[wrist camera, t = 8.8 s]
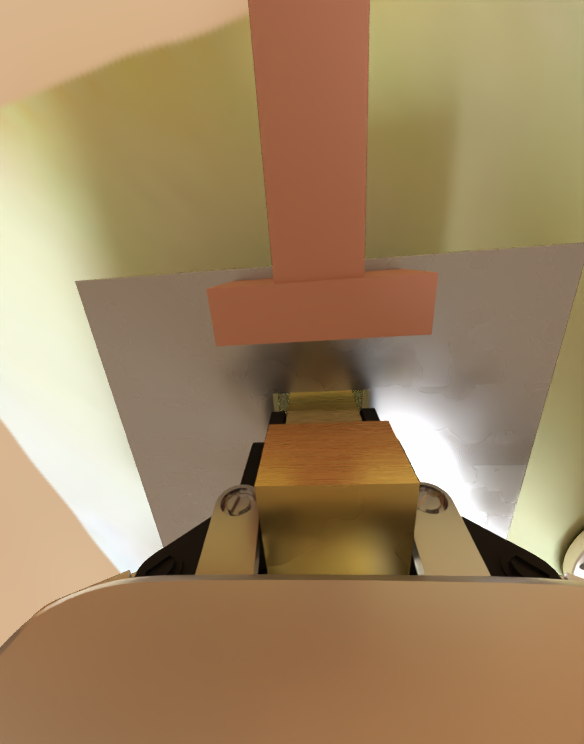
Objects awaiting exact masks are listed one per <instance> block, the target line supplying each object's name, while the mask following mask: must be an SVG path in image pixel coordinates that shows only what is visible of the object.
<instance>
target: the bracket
mask: <svg viewBox="0 0 584 744" xmlns="http://www.w3.org/2000/svg"><path fill="white" fill-rule="evenodd" d="M248 5H249V16H250V27H251V38H252V49H253V60H254V71H255V82H256V93H257V104H258V115H259V126H260V137H261V148H262V159H263V170H264V181H265V192H266V204H267V215H268V226H269V237H270V248H271V259H272V270H273V278H268V279H254V280H240V281H232V282H228V283H225V284H221V285H218V286H214V287H211V288H207V289H206V291H207V297H208V302H209V308H210V314H211V320H212V325H213V331H214V337H215V343H216V346H233V345H251V344H269V343H287V342H305V341H323V340H341V339H359V338H377V337H395V336H413V335H431V334H432V327H433V318H434V309H435V299H436V290H437V281H438V272H430V271H420V270H410V269H392V270H378V271H364V268H365V217H366V166H367V114H368V63H369V12H370V0H248Z"/></svg>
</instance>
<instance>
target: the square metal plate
mask: <svg viewBox="0 0 584 744" xmlns="http://www.w3.org/2000/svg"><path fill="white" fill-rule="evenodd" d="M583 265H584V243H569V244H553V245H540V246H527V247H514V248H500V249H487V250H474V251H461V252H448V253H435V254H421V255H408V256H395V257H382V258H369V259H365V268H364V271H378V270H392V269H410V270H420V271H430V272H438V281H437V290H436V299H435V309H434V318H433V327H432V334H431V335H413V336H395V337H377V338H359V339H341V340H323V341H305V342H287V343H269V344H251V345H233V346H216V343H215V337H214V331H213V325H212V320H211V314H210V308H209V302H208V297H207V291H206V289H207V288H211V287H214V286H218V285H221V284H225V283H228V282H232V281H240V280H254V279H268V278H273V270H272V266H263V267H250V268H237V269H224V270H211V271H197V272H184V273H171V274H158V275H145V276H131V277H118V278H105V279H94V280H83V281H75V282H76V285H77V288H78V291H79V294H80V297H81V300H82V303H83V306H84V310H85V313H86V316H87V319H88V322H89V325H90V328H91V331H92V334H93V337H94V340H95V343H96V346H97V349H98V352H99V355H100V358H101V361H102V364H103V367H104V370H105V373H106V376H107V379H108V382H109V385H110V388H111V391H112V394H113V397H114V400H115V403H116V406H117V409H118V412H119V415H120V418H121V421H122V424H123V427H124V430H125V433H126V436H127V439H128V442H129V445H130V448H131V451H132V454H133V457H134V460H135V463H136V466H137V469H138V472H139V475H140V478H141V481H142V484H143V487H144V490H145V493H146V496H147V499H148V502H149V505H150V508H151V511H152V514H153V517H154V520H155V523H156V526H157V529H158V532H159V535H160V538H161V541H162V544H163V547H165V546H167V545H168V544H170V543H172V542H173V541H175V540H176V539H178V538H179V537H181V536H182V535H184V534H185V533H187V532H188V531H190V530H191V529H193V528H194V527H196V526H197V525H199V524H201V523H202V522H204V521H205V520H207V519H208V518H210V517H211V516H212V514H213V510H214V507H215V503H216V501H217V499H218V497H219V496H220V495H221V494H222V493H223V492H224V491H225V490H227V489H228V488H231V487H233V486H236V485H240V483H241V480H242V476H243V473H244V470H245V466H246V463H247V460H248V457H249V453H250V450H251V447H252V444H253V443H254V442H265V437H266V433H267V429H268V425H269V421H270V417H271V413H272V412H276V411H279V401H278V393H298V392H321V391H345V390H362V408H375V410H376V412H377V414H378V417H379V419H380V421H389V423H390V425H391V427H392V429H393V431H394V433H395V435H396V437H397V438H398V439H399V440H400V442H401V444H402V446H403V448H404V450H405V452H406V454H407V456H408V458H409V460H410V462H411V464H412V466H413V468H414V470H415V472H416V474H417V476H418V478H419V480H420V481H422V482H428V483H431V484H434V485H437V486H439V487H440V488H442V489H444V490H445V491H446V492H447V493H448V494H449V495H450V496H451V498H452V499H453V501H454V503H455V505H456V507H457V509H458V511H459V513H460V515H461V516H463V517H465V518H467V519H469V520H471V521H472V522H474V523H476V524H478V525H480V526H482V527H484V528H485V529H487V530H489V531H491V532H493V533H495V534H497V535H499V536H500V537H502V538H504V539H506V540H507V536H508V532H509V529H510V525H511V522H512V518H513V515H514V511H515V508H516V504H517V500H518V497H519V493H520V490H521V486H522V483H523V479H524V475H525V472H526V468H527V465H528V461H529V458H530V454H531V451H532V447H533V443H534V440H535V436H536V433H537V429H538V426H539V422H540V418H541V415H542V411H543V408H544V404H545V401H546V397H547V394H548V390H549V386H550V383H551V379H552V376H553V372H554V369H555V365H556V361H557V358H558V354H559V351H560V347H561V344H562V340H563V337H564V333H565V329H566V326H567V322H568V319H569V315H570V312H571V308H572V304H573V301H574V297H575V294H576V290H577V287H578V283H579V280H580V276H581V272H582V269H583Z"/></svg>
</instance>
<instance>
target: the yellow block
mask: <svg viewBox="0 0 584 744" xmlns="http://www.w3.org/2000/svg"><path fill="white" fill-rule="evenodd" d="M419 486H420V483H419V481H418V479H417V477H416V475H415V473H414V471H413V469H412V467H411V465H410V463H409V461H408V459H407V457H406V455H405V453H404V451H403V449H402V447H401V445H400V443H399V441H398V439H397V437H396V435H395V433H394V431H393V429H392V427H391V425H390V423H389V421H362V419H361V416H360V413H359V410H358V407H357V404H356V401H355V398H354V395H353V392H352V390H345V391H321V392H298V393H290V396H289V403H288V411H287V418H286V424H271V425H269V427H268V431H267V435H266V440H265V444H264V448H263V452H262V456H261V461H260V465H259V469H258V473H257V478H256V482H255V493H256V500H257V506H258V513H259V519H260V526H261V533H262V539H263V546H264V553H265V559H266V566H267V572H268V574H331V575H409V573H410V564H411V556H412V547H413V538H414V530H415V521H416V512H417V504H418V495H419Z"/></svg>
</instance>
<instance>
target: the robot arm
mask: <svg viewBox="0 0 584 744" xmlns="http://www.w3.org/2000/svg"><path fill="white" fill-rule="evenodd" d="M359 413H360V416H361V419H362V421H380V419H379V417H378V414H377V412H376V410H375V408H361V409H360V412H359ZM286 418H287V414H285V411H276V412H272V413H271V417H270V421H269V425H271V424H286ZM269 425H268V427H269ZM267 431H268V429H267ZM266 435H267V433H266ZM397 439H398V438H397ZM265 440H266V437H265ZM398 441H399V443H400V445H401V447H402V449H403V451H404V453H405V455H406V457H407V459H408V461H409V463H410V465H411V467H412V469H413V471H414V473H415V475H416V477H417V479H418V481H419V483H420V486H419V495H418V504H417V512H416V521H415V530H414V538H413V547H412V556H411V564H410V573H409V575H331V574H268V572H267V566H266V559H265V553H264V546H263V539H262V533H261V526H260V519H259V513H258V506H257V500H256V493H255V482H256V478H257V473H258V469H259V465H260V461H261V456H262V452H263V448H264V444H265V442H254V443H253V444H252V447H251V450H250V453H249V457H248V460H247V463H246V466H245V470H244V473H243V476H242V480H241V483H240V485H236V486H233V487H231V488H228V489H227V490H225V491H224V492H223V493H222V494H221V495H220V496H219V497H218V499H217V501H216V503H215V507H214V510H213V514H212V516H211V517H210V518H208V519H207V520H205V521H204V522H202V523H201V524H199V525H197V526H196V527H194V528H193V529H191V530H190V531H188V532H187V533H185V534H184V535H182V536H181V537H179V538H178V539H176V540H175V541H173V542H172V543H170V544H168V545H167V546H165V547H164V548H162V549H161V550H159V551H158V552H156V553H155V554H153V555H152V556H151V557H149V558H148V559H147V560H146V561H145V562H144V563H143V564H142V565H141V566H140V568H139V569H138V571H137V572H135V573H132V574H131V572H130V570H128V571H126V572H123V573H121V574H118V575H116V576H114V577H111V578H109V579H106V580H104V581H102V582H99V583H96V584H94V585H91V586H89V587H87V588H84V589H82V590H79V591H77V592H74V593H72V594H69V595H67V596H65V597H62V598H59V599H57V600H55V601H53V602H51V603H49V604H48V605H46V606H44V607H43V608H42V609H41V610H40V611H38V612H37V613H36V614H34V615H33V616H32V617H31V618H30V619H29V620H28V621H27V622H26V623H24V624H23V625H22V626H21V627H20V628H19V629H18V630H17V631H16V632H15V633H14V634H13V635H12V636H11V637H10V638H9V639H8V640H7V641H6V642H5V643H4V644H3V645H2V646H1V647H0V744H584V530H583V531H582V532H581V533H580V534H579V535H578V536H577V537H576V538H575V540H574V541H573V542H572V544H571V545H570V546H569V548H568V550H567V553H566V555H565V557H564V563H563V573H564V576H561V575H558V573H557V572H556V571H555V570H554V569H553V568H552V567H551V566H550V565H549V564H547V563H546V562H545V561H543V560H542V559H540V558H539V557H537V556H536V555H534V554H532V553H530V552H528V551H527V550H525V549H523V548H521V547H519V546H517V545H515V544H513V543H512V542H510V541H508V540H506V539H504V538H502V537H500V536H499V535H497V534H495V533H493V532H491V531H489V530H487V529H485V528H484V527H482V526H480V525H478V524H476V523H474V522H472V521H471V520H469V519H467V518H465V517H463V516H461V515H460V513H459V511H458V509H457V507H456V505H455V503H454V501H453V499H452V498H451V496H450V495H449V494H448V493H447V492H446V491H445V490H444V489H442V488H440V487H439V486H437V485H434V484H431V483H428V482H422V481H420V480H419V478H418V476H417V474H416V472H415V470H414V468H413V466H412V464H411V462H410V460H409V458H408V456H407V454H406V452H405V450H404V448H403V446H402V444H401V442H400V440H399V439H398Z"/></svg>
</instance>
